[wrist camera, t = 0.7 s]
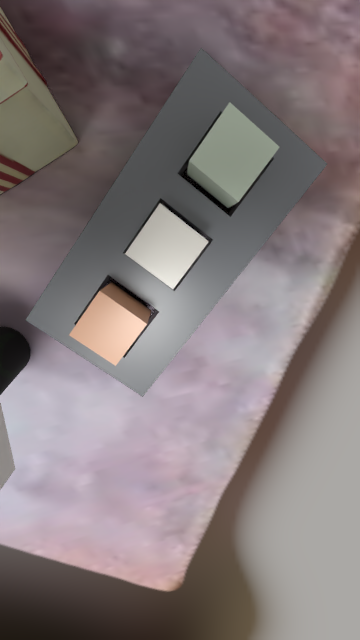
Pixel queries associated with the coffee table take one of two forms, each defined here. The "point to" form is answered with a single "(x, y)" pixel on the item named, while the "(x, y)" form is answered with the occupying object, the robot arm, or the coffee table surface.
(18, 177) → the gift box
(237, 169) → the sage key
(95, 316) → the peach cube
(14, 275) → the coffee table surface
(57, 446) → the coffee table surface
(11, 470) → the robot arm
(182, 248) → the ivory key
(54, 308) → the key panel
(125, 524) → the coffee table surface
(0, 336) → the cup
